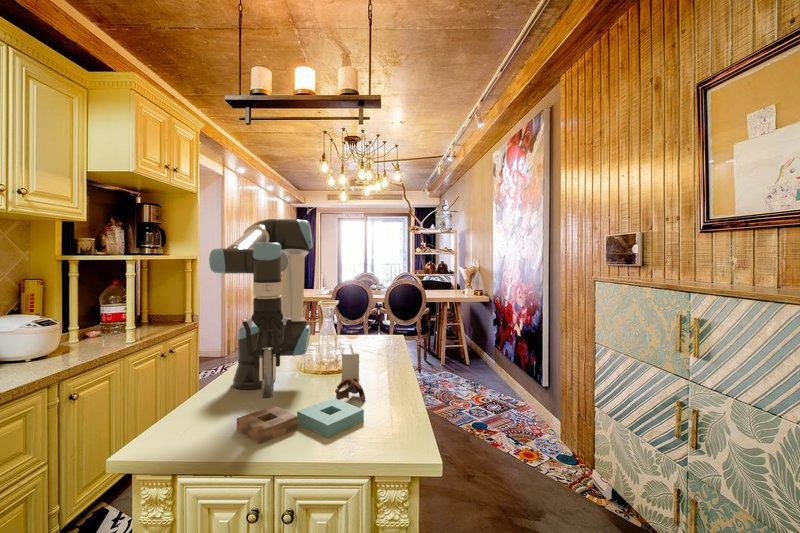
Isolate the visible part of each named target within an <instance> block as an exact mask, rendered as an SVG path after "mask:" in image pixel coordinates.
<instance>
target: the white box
mask: <svg viewBox="0 0 800 533" xmlns="http://www.w3.org/2000/svg"><path fill="white" fill-rule="evenodd" d="M353 378H356V379H357V380H358V381H359V379H360V354H358V353H342V357H341V381H344V380H347V379H353Z"/></svg>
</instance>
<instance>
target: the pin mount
mask: <svg viewBox="0 0 800 533" xmlns="http://www.w3.org/2000/svg"><path fill="white" fill-rule="evenodd" d="M298 427H299V424H298V416H297V414H293V413H291V412H289V411H288V410H284V409H283V408H280V407H278V406H276V405H272V406H268V407H266V408H265V407H264V408H263V409H259V410H257V411H254V412H250V413H247V414H245V415H241V416H240V417H236V431H237V432H239V433H240V434H243V436H246V437H248V438H249V439H250V440H252V441H254V442H255V443H257V444H263V443H265V442H266V443H267V442H268V441H270V440H274V439H276V438H278V437H280V436H282V435H285V434H287V433H290V432H292V431H294V430H297V429H298Z"/></svg>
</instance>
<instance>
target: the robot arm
mask: <svg viewBox="0 0 800 533" xmlns="http://www.w3.org/2000/svg"><path fill="white" fill-rule="evenodd" d="M313 242H314V241H313V235H312V227H311V223H310V222H309V221H308V220H306V219H298V218H297V219H296V218H295V219H293V218H291V219H290V218H289V219H283V218H282V219H281V218H280V219H279V218H269V219H263V220H260V221H258V222H255V223H253V224H251V225H249V226H248V227H247V228H246V229H245V230H244V232H243V234H242V235H241V236H240V237H239V238H238V239H236V240H235V241H234V242H233V243H232V244H230V245H229V246H227V247H226V248H222V247H220V248H213V249H212V250H211V251H210V253H209V258H208V259H209V260H208V261H209V262H208V264H209V269H210V271H211V272H212V273H214V274H223V275H227V274H235V275H236V274H253V277H252V278H253V280H252V281H253V283H252V284H253V285H252V287H253V293H252V294H253V296H254V298H253V300H252V301H253V304H252V307H253V310H252V312H253V313H252V315H251V318H249V319H243V321H242V326H239V328H238V332H237V333H238V334H237V359H238V360H237V367H236V369H235V370H236V371H235V373H234V376H233V379H232V386H233V387H234V388H235V389H238V390H250V391H251V390H257V389H259V390H260V389H262V348H266V347H272V348H273V353H274V356H273V379H274V383H275V382H276V380H277V367H278V368H279V367H280V365H281V357H283V356H284V357H291V356H292V357H296V356H304V355H305V354H306V353H307V352H308V349H309V344H310V340H311V339H310V338H311V330H312V327H311V325H309V324H308V320H307V319H306V318H305V317H304V302H305V300H304V298H305V259H306V258H305V257H307V255H308V254H309V253H310V252H309V250H311V249H313V247H314V246H313V245H314V243H313Z"/></svg>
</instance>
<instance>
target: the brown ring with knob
mask: <svg viewBox="0 0 800 533" xmlns="http://www.w3.org/2000/svg"><path fill="white" fill-rule="evenodd" d="M347 385H348V387H347V388H345V389H344V390H343V389H342V388H344V386H347ZM341 389H342V390H341ZM340 390H341V391H340ZM334 392H335V399H338V400H343V399H345V398H346V399H350V394H354V395H356V394H358V396H359V397H360V398H361V399H362V402H363V403H365V402H366V395H365V392H364V389H363V386H362V385H361V383H360V382H359V380H357V379H356V378H353V379H347V380H342V381H341V382H340V383H339V384H338V385H337V386H336V389H335V390H334Z"/></svg>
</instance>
